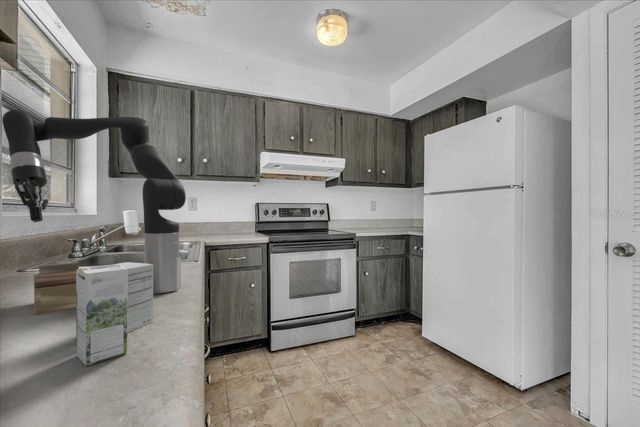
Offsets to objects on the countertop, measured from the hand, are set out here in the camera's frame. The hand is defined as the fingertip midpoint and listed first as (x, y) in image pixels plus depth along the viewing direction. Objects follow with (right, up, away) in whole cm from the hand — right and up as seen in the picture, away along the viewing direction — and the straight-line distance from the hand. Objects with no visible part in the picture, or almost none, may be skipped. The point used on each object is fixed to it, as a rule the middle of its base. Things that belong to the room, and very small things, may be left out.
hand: (37, 220), depth 88 cm
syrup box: (+48, -21, -39) cm, 66 cm away
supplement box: (+44, -21, -27) cm, 56 cm away
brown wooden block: (+18, -15, -12) cm, 26 cm away
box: (+18, -21, -12) cm, 30 cm away
